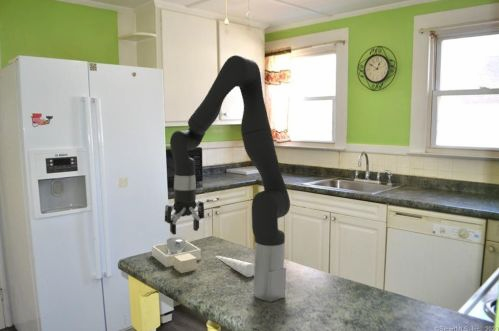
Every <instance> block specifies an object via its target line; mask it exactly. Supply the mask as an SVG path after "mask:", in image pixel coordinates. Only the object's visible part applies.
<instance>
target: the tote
mask: <svg viewBox="0 0 499 331" xmlns="http://www.w3.org/2000/svg"><path fill="white" fill-rule="evenodd" d="M187 253H189V254H191V255H193V256H194V257H196V258H197V261H200V260H201V258H202V249H201V248H199V247H198V246H196V245H194V244H192V243H191V242H189V241H187V240H186V239H185V252H183V253H179V254H174V255H169V256H167V242H165V243H160V244H156V245H155V244H154V245H152V246H151V256H152V257H153V258H154V259H155V260H157V261H158V262H160V263H161V264H162V265H163V266H164V267H166V268H168V267H174V256H178V255H183V254H187Z"/></svg>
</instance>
